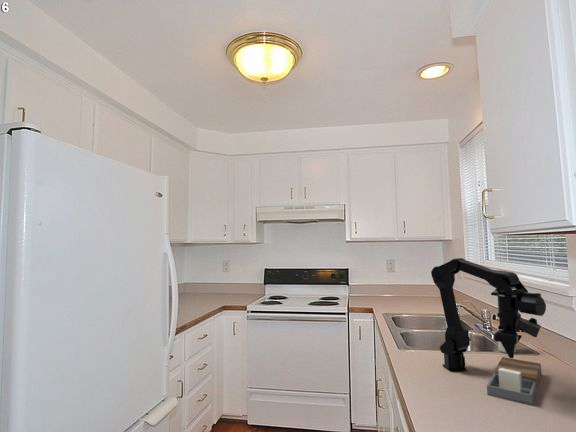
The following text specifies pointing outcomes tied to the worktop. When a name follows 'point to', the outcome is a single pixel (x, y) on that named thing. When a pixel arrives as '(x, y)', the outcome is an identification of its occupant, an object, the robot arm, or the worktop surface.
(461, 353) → the robot arm
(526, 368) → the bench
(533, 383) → the box
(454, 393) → the worktop surface
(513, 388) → the tile
